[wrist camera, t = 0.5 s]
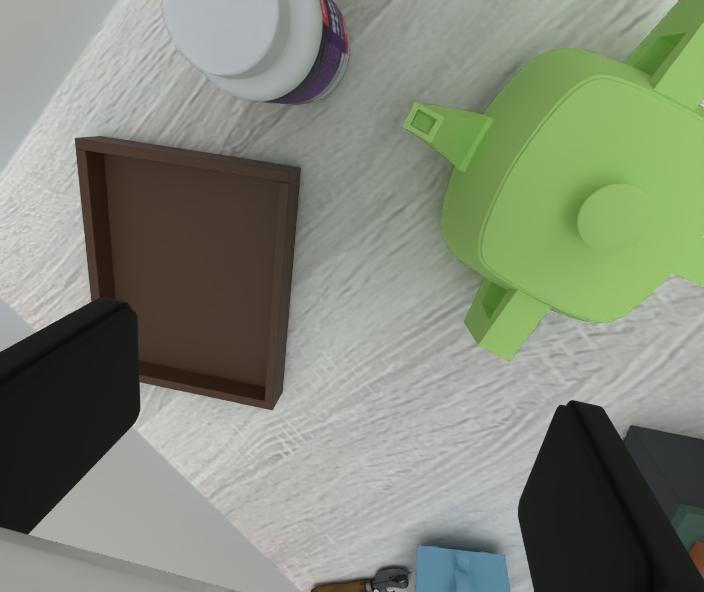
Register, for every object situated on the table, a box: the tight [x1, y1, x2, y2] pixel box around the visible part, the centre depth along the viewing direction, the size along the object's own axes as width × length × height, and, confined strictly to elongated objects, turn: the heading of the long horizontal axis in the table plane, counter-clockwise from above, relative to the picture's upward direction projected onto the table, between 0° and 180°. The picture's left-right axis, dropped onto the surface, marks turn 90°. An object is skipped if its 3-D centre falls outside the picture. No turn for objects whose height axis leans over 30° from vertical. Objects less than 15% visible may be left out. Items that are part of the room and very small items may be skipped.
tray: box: [75, 136, 301, 410], centre depth 28 cm, size 15×12×2 cm
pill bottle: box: [161, 0, 350, 105], centre depth 19 cm, size 5×5×10 cm
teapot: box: [402, 0, 704, 362], centre depth 19 cm, size 12×12×10 cm
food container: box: [624, 426, 704, 553], centre depth 26 cm, size 9×8×7 cm
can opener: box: [311, 568, 412, 592], centre depth 37 cm, size 9×2×1 cm, turn 119°
